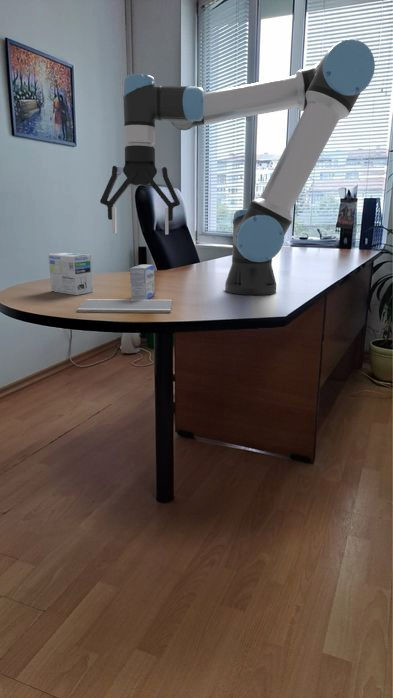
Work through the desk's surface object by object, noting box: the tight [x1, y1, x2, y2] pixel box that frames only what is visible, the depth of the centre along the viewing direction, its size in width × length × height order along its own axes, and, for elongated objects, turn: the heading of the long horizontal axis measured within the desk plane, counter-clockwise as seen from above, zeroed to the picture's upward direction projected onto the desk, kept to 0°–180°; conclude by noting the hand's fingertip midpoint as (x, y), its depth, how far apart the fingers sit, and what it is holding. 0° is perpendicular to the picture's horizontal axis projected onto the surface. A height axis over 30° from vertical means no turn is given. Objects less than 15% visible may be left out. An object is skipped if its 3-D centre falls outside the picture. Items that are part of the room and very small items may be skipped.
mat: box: [76, 298, 173, 314], centre depth 118 cm, size 22×12×1 cm, turn 91°
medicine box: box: [129, 263, 156, 300], centre depth 129 cm, size 8×4×9 cm, turn 168°
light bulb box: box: [48, 252, 94, 296], centre depth 135 cm, size 11×7×11 cm, turn 58°
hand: (140, 233), depth 125 cm, fingers open, 13 cm apart
